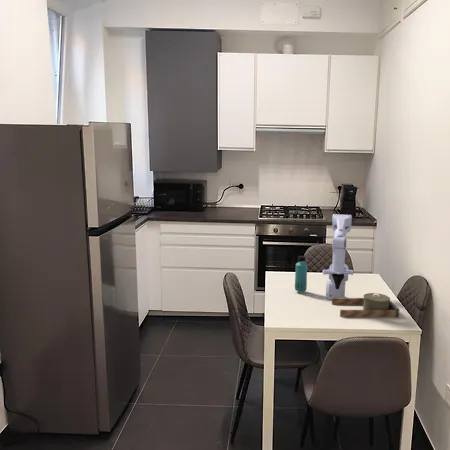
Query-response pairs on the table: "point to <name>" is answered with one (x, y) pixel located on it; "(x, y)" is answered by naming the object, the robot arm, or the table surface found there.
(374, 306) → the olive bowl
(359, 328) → the table surface
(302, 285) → the beverage bottle
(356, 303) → the bay
